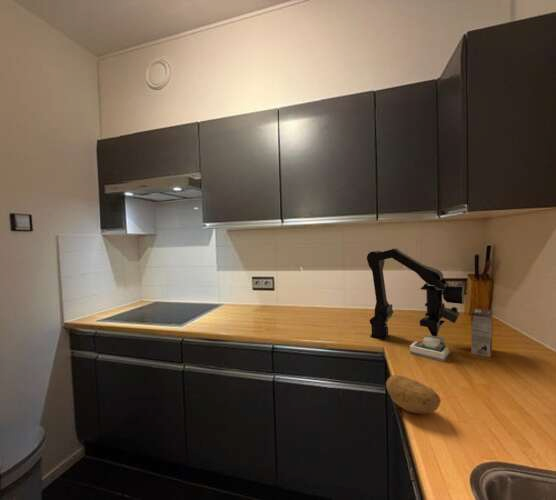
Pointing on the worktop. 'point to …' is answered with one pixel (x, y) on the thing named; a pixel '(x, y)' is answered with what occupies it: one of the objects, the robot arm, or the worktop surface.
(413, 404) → the potato
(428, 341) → the trolley
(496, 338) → the worktop surface
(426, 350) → the dock
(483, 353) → the coffee box
